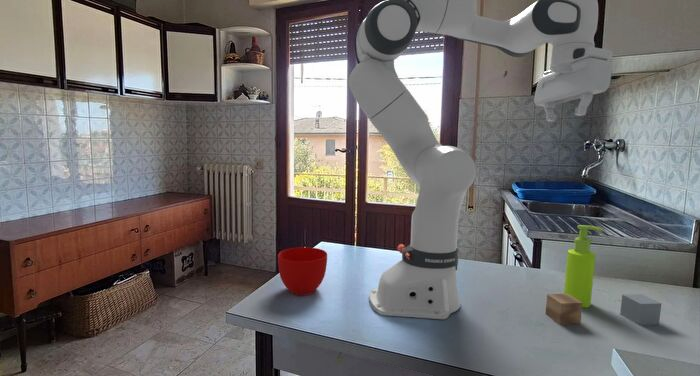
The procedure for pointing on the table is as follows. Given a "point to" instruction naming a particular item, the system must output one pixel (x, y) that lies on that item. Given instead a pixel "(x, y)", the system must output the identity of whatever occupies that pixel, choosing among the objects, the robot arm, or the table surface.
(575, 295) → the soap dispenser
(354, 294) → the table surface
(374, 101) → the robot arm
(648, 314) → the slate-grey block
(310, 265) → the ceramic cup
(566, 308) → the walnut block
